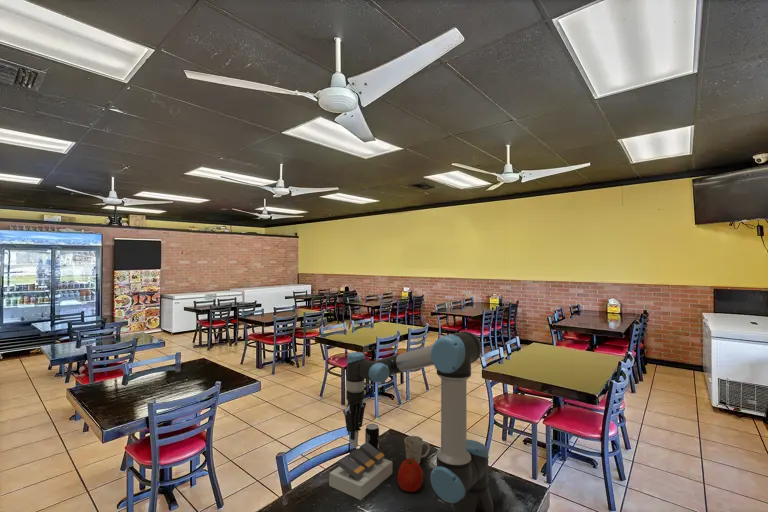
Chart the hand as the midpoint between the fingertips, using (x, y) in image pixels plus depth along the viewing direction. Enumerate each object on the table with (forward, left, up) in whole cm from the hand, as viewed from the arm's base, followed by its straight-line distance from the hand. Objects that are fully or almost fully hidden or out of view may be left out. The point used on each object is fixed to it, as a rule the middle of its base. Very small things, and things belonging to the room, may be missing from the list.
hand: (354, 446), depth 153 cm
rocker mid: (-4, 0, -5) cm, 7 cm away
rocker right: (-4, -7, -4) cm, 9 cm away
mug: (-16, -26, -13) cm, 33 cm away
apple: (-23, -7, -13) cm, 27 cm away
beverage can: (+6, -21, -13) cm, 25 cm away
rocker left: (-4, +7, -4) cm, 9 cm away
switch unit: (-4, 0, -12) cm, 13 cm away
